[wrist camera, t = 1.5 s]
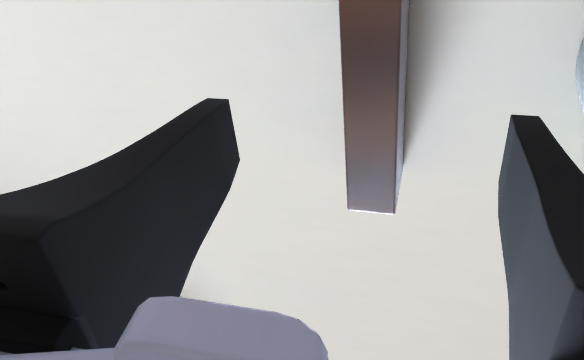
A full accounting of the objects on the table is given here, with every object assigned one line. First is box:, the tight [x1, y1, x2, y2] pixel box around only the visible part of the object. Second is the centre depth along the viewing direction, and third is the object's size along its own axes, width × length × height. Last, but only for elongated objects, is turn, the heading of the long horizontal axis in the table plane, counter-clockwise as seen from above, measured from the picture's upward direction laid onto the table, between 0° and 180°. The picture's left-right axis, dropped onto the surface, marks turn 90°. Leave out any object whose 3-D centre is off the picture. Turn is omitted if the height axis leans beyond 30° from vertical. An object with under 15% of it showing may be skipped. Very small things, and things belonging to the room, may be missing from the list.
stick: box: [339, 0, 409, 215], centre depth 20 cm, size 14×2×3 cm, turn 5°
